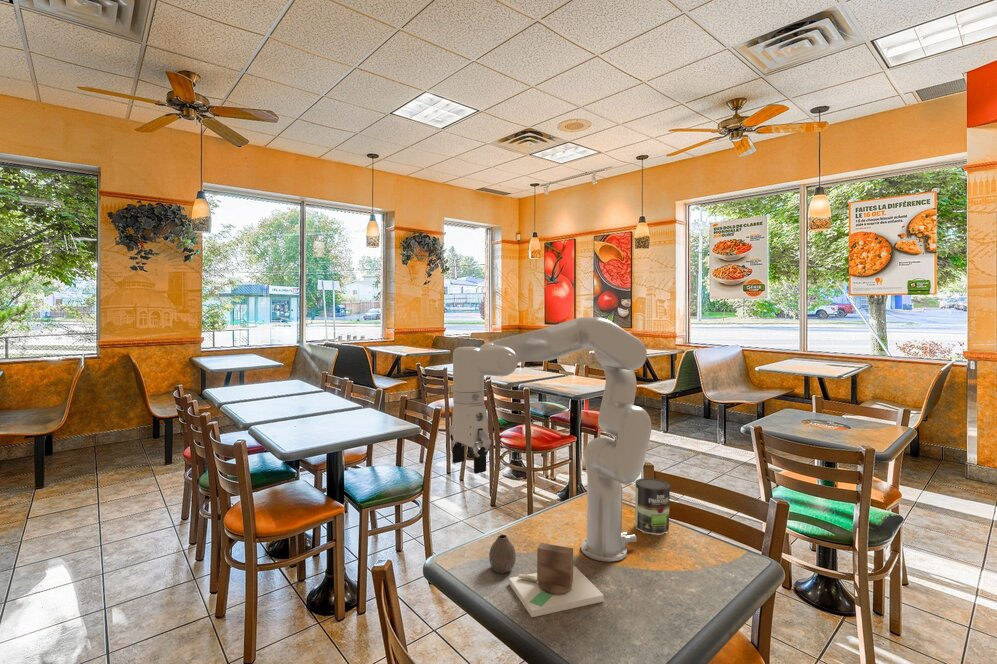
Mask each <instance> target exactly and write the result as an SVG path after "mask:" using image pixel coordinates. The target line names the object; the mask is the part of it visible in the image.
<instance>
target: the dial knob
mask: <svg viewBox="0 0 997 664" xmlns="http://www.w3.org/2000/svg"><path fill="white" fill-rule="evenodd" d="M536 550H537V554H536V557H537V558H536V559H537V561H536V562H537V563H536V566H537V567H536V568H537V569H536V573H537V577H534V576H529V575H528V574H524V573H519V574H518V575H517V576H518V578H521V579H526V580H530V581H535V582H538V586H539V588H540V589H541V590H543V591H545V592H547V593H550V594H564V593H567V592H568V591H570V590H571V588H572V583H573V566H574V548H572V547H567V546H560V545H555V544H550V543H545V542H540V544H539V545H538V546H537V548H536Z"/></svg>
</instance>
